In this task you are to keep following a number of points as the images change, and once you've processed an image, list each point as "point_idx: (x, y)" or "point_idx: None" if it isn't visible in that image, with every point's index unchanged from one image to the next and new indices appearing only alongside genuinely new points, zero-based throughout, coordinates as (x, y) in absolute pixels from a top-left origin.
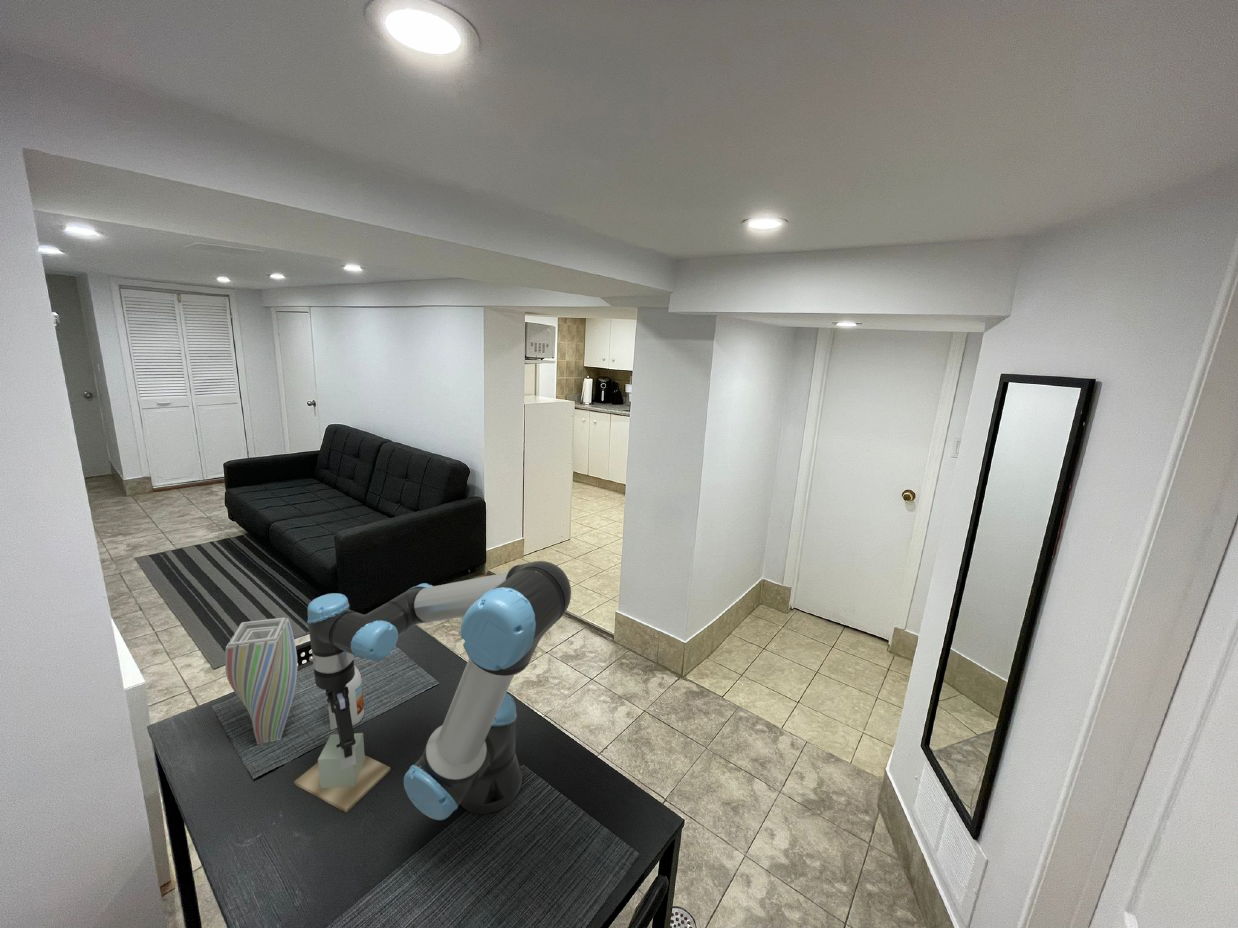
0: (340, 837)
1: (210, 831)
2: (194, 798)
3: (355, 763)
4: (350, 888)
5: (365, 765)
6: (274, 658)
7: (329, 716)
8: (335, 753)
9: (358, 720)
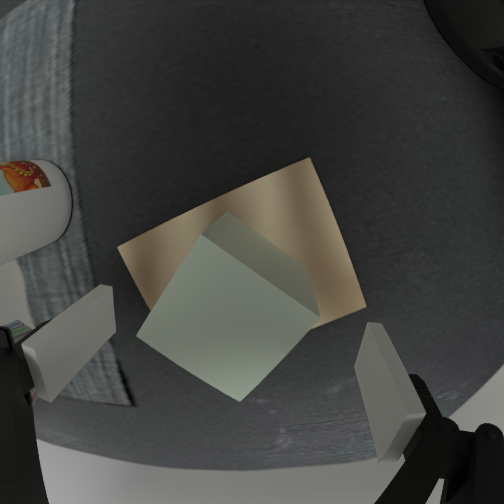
0: (412, 327)
1: (217, 464)
2: (133, 457)
3: (382, 326)
4: (500, 331)
5: (249, 216)
6: None
7: (80, 365)
8: (251, 356)
9: (63, 182)
